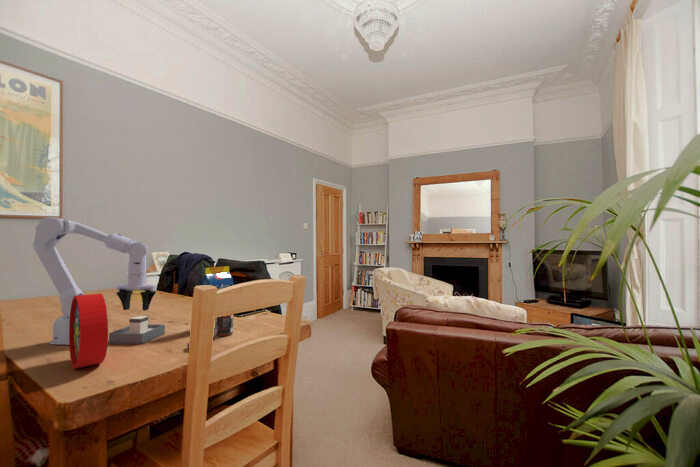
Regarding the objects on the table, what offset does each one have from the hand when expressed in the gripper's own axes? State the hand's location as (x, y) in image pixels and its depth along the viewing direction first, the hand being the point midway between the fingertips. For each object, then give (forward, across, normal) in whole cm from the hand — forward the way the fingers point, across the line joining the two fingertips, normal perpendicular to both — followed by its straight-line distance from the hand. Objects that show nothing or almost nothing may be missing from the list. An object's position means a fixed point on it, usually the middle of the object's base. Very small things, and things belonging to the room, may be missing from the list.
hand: (135, 309), depth 118 cm
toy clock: (+10, -8, +28) cm, 31 cm away
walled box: (+9, -4, +4) cm, 11 cm away
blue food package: (+10, -25, -13) cm, 30 cm away
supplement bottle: (+10, -33, -3) cm, 35 cm away
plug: (+9, -4, +4) cm, 11 cm away
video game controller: (+10, -31, +9) cm, 34 cm away
